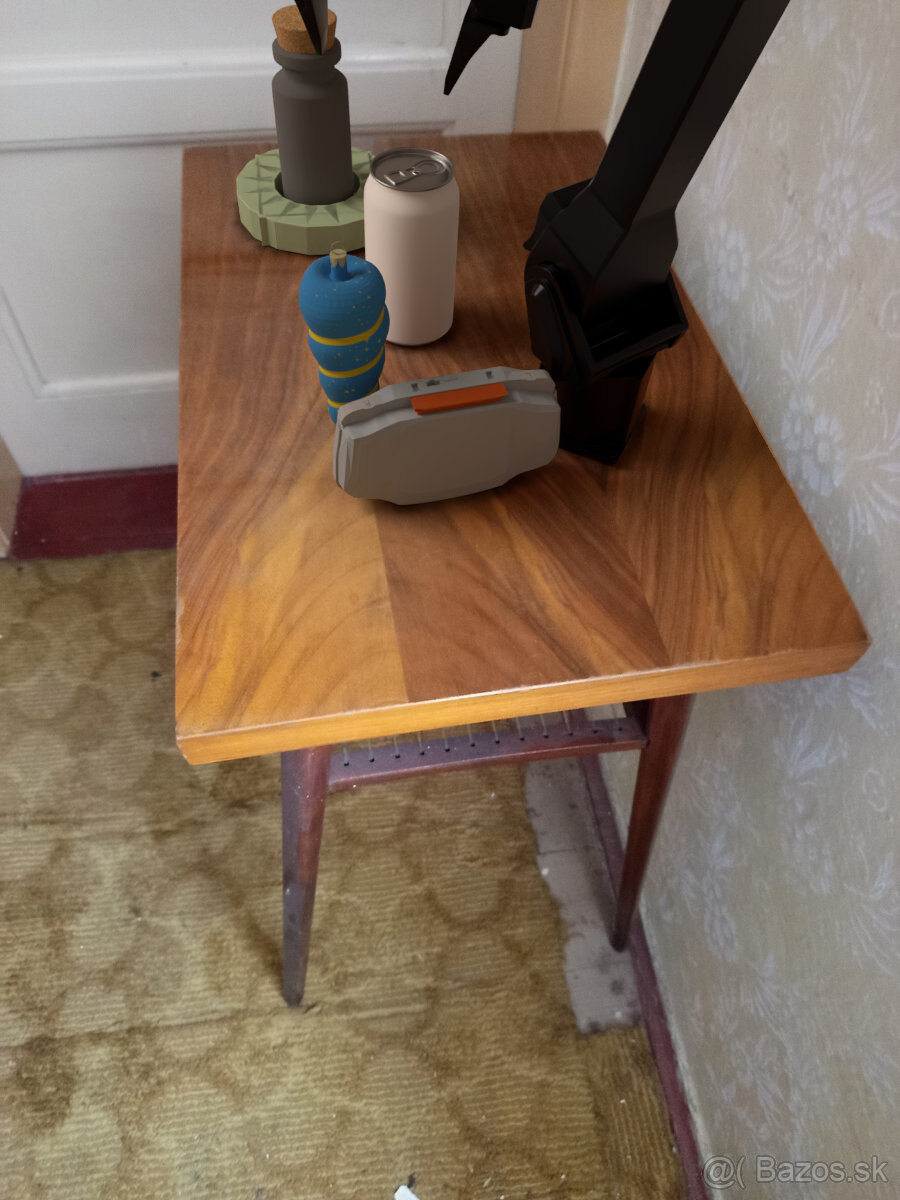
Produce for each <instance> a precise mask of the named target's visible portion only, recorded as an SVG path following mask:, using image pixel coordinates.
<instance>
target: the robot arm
mask: <svg viewBox="0 0 900 1200" xmlns="http://www.w3.org/2000/svg"><path fill="white" fill-rule="evenodd" d="M293 1H294V4H295V5H297V8H298V10H299V12H300V15H301V17H302V20H303V22H304V25H305V27H306V29H307V32H308V34H309V37H310V39H311V42H312V44H313V47H314V49H315V52H316V54H317V55H320V56H322V55H323V53H324V51H325V49H326V43H327V33H328V9H329V3H328V2H329V0H293ZM540 2H541V0H470V2H469V4H468V6H467V9H466V11H465V14H464V15H463V19H462V22H461V26H460V29H459V33H458V35H457V38H456V42H455V45H454V48H453V51H452V55H451V58H450V61H449V65H448V68H447V71H446V74H445V77H444V84H443V95H444V96H450V94H451V93H452V91H453V89H454V88H455V86H456V84H457V83H458V81H459V79H460V77H461V76H462V74H463V72H464V71H465V69H466V67H467V66H468V64H469V62H470V61H471V59H472V58H473V57H474V56H475V54H477V52H478V51H479V50H480V49H481V47H482V46H483V45H484V44H485V43H486V42H487V40H488V39H489V38H490V37H491V36H497V37H506V36H508V35H509V33H510V30H511V28H513V29H516V30H520V31H523V30H527V29H531V28H532V26H533V22H534V20H535V16H536V15H537V11H538V9H539V8H538V7H539V4H540ZM790 3H791V0H669V2H668V5H667V7H666V9H665V11H664V14H663V16H662V18H661V21H660V23H659V26H658V28H657V30H656V32H655V35H654V37H653V39H652V42H651V44H650V46H649V48H648V51H647V53H646V55H645V58H644V59H643V63H642V65H641V67H640V69H639V72H638V74H637V76H636V78H635V80H634V84H633V86H632V88H631V90H630V92H629V94H628V97H627V99H626V101H625V104H624V107H623V108H622V110H621V113H620V115H619V118H618V120H617V122H616V125H615V127H614V129H613V132H612V134H611V136H610V138H609V141H608V143H607V144H606V145H607V146H606V148H605V149H604V152H603V155H602V157H601V159H600V162H599V163H598V166H597V169H596V171H595V172H594V176H592V177H589V178H586V179H585V178H584V179H583V180H580V181H577V182H573V183H572V184H568V185H566V186H563V187H561V188H558V189H555V190H552V191H549V192H548V193H547V194H545V197H544V198H543V200H542V202H541V204H540V206H539V208H538V214H537V218H536V222H535V226H534V229H533V231H532V233H531V235H530V236H529V237H528V239H526V240H525V242H523V244H522V247H523V249H524V250H525V251H528V252H529V253H528V255H527V257H526V260H525V265H524V269H523V283H524V287H523V288H524V297H525V298H524V299H525V306H526V307H525V308H526V315H527V316H526V317H527V325H528V335H529V342H530V352H531V353H532V355H533V356H534V357H536V359H538V360H539V361H540V362H539V366H538V370H545V371H547V372H548V373H549V374H550V376H551V378H552V380H553V381H554V383H555V385H556V386H555V388H556V390H557V403H558V404H559V406H560V408H561V411H560V434H559V445H558V447H561V448H565V449H567V450H570V451H573V452H575V453H577V454H581V455H583V456H586V457H589V458H591V459H594V460H597V461H600V462H603V463H606V464H608V465H611V466H613V465H617V464H619V462H620V461H621V459H622V458H623V455H624V453H625V452H626V450H627V448H628V447H629V444H630V442H631V441H632V439H633V437H634V435H635V434H636V431H637V430H638V428H639V425H640V424H641V422H642V420H643V418H644V417H645V415H646V413H647V410H648V409H647V408H648V406H647V404H646V403H644V402H645V398H646V394H647V392H648V391H647V390H648V388H649V384H650V381H651V380H650V379H651V376H652V373H653V369H654V365H655V362H656V358H657V355H658V353H659V352H661V351H664V350H666V349H672V348H673V347H676V346H677V344H678V343H679V342H680V340H681V339H682V338H683V337H684V335H685V334H686V333H687V332H688V330H689V328H690V324H689V321H688V318H687V315H686V312H685V309H684V306H683V304H682V303H683V302H682V300H681V297H680V295H679V291H678V289H677V286H676V284H675V280H674V278H673V274H672V272H671V268H672V264H673V261H674V260H675V259H674V258H675V256H676V254H677V252H678V248H679V241H680V240H679V232H678V223H677V214H676V211H677V207H678V205H679V203H680V201H681V199H682V198H683V195H685V192H686V191H687V188H688V187H689V185H690V183H691V182H692V179H693V178H694V177H695V174H696V172H697V170H698V168H699V167H700V165H701V163H702V161H703V159H704V158H705V156H706V154H707V152H708V151H709V149H710V147H711V145H712V144H713V142H714V140H715V138H716V136H717V135H718V133H719V131H720V129H721V127H722V125H723V124H724V122H725V120H726V118H727V116H728V115H729V113H730V110H731V109H732V107H733V106H734V103H735V102H736V100H737V98H738V97H739V95H740V93H741V92H742V91H741V90H742V89H743V87H744V85H745V84H746V82H747V80H748V78H749V77H750V75H751V73H752V71H753V69H754V67H755V65H756V64H757V62H758V60H759V59H760V57H761V55H762V52H763V51H764V49H765V48H766V45H767V44H768V42H769V40H770V38H771V36H772V35H773V33H774V32H775V29H776V28H777V26H778V24H779V22H780V20H781V19H782V16H783V15H784V13H785V11H786V9H787V7H788V6H789V4H790Z"/></svg>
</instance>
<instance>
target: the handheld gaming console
mask: <svg viewBox="0 0 900 1200" xmlns="http://www.w3.org/2000/svg"><path fill="white" fill-rule="evenodd" d="M555 386H556V385H555V383H554V381H553V380H552V378H551V376H550V374H549V373H548V372H547V371H545V370H539V369H518V368H515V367H514V368H513V367H509V366H502V365H499V366H492V367H488V368H481V369H476V370H474V369H473V370H469V371H462V372H457V373H450V374H443V375H438V376H430V377H426V378H420V379H419V378H418V379H413V380H412V379H411V380H407V381H401V382H395V383H391V384H388V385H387V386H384V387H382V388H381V389H380V390H379V391H377V392H375V393H373V394H371V395H369V396H367V397H365V398H362V399H359V400H356V401H353V402H350V403H348V404H346V405H342V406H341V407H340V408H339V410H338V416H337V424H336V425H335V431H334V438H333V445H332V475H333V478H334V481H335V484H336V485H337V487H338V488H339V489H341V490H343V492H345V493H346V494H347V495H349V496H351V497H352V498H355V499H365V500H366V499H367V500H382V501H387V502H389V503H393V504H394V505H397V506H403V505H404V506H407V505H416V504H424V503H425V504H426V503H431V502H432V503H433V502H438V501H443V500H449V499H453V498H454V499H455V498H459V497H463V496H469V495H472V494H476V493H480V492H484V491H487V490H491V489H494V488H497V487H501V486H503V485H504V484H506V483H508V482H509V481H510V480H511V479H513V478H514V477H516V476H518V475H519V474H522V473H525V472H529V471H531V470H536V469H538V468H540V467H543V466H545V465H549V464H550V462H551V461H552V460H553V458H554V457H555V456H556V454H557V453H558V451H559V446H558V445H559V434H560V411H561V408H560V406H559V404H558V403H557V390H556V388H555Z"/></svg>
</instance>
